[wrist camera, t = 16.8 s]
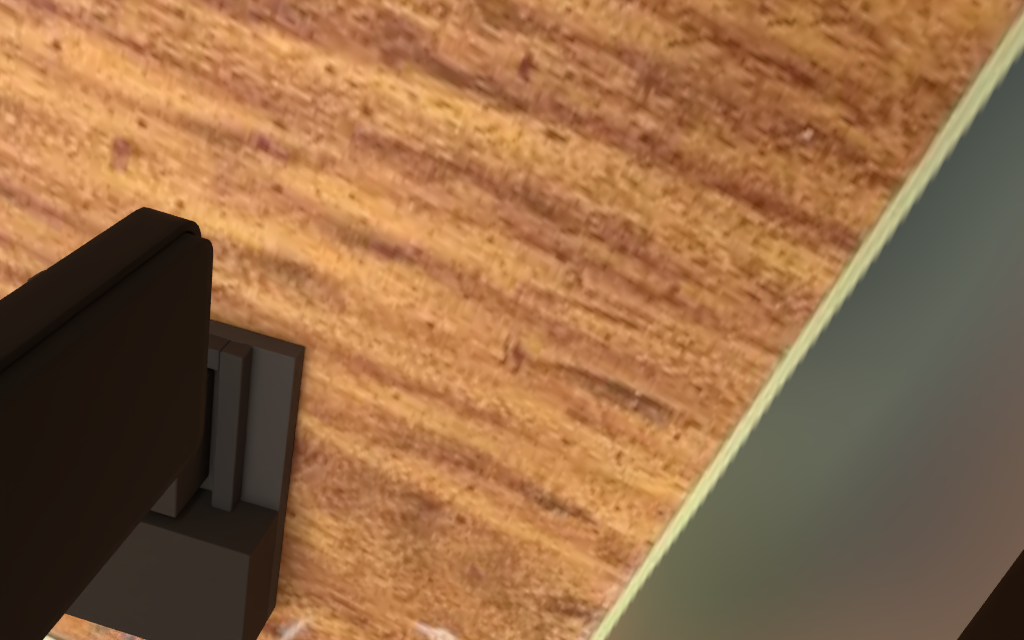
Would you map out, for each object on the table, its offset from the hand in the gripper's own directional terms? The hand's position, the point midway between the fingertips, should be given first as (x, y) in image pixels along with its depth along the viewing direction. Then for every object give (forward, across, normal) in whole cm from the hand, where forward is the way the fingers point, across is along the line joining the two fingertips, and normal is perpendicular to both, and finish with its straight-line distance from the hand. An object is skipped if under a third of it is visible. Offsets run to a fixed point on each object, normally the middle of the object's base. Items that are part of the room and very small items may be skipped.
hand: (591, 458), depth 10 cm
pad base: (+22, +17, +24) cm, 37 cm away
